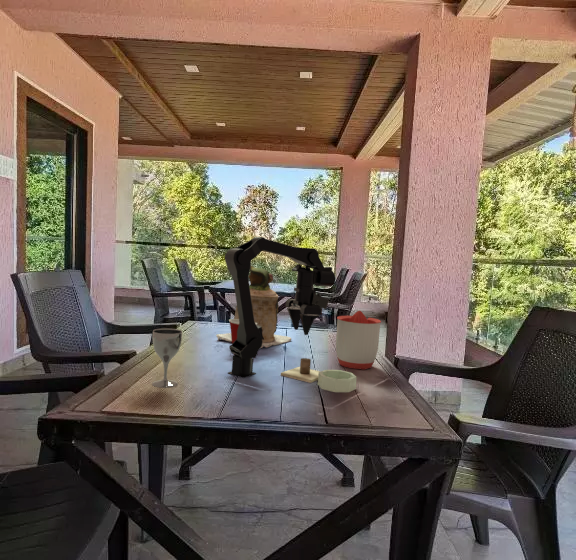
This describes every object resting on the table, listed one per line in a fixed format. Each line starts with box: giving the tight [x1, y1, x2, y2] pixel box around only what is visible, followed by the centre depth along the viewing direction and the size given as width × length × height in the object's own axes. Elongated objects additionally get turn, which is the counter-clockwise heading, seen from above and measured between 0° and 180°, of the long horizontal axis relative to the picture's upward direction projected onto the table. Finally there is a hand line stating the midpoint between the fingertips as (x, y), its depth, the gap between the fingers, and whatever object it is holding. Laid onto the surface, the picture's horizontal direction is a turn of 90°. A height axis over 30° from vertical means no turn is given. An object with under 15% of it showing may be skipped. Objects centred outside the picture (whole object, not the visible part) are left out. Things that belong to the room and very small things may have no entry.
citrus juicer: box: [335, 310, 382, 371], centre depth 166 cm, size 16×17×20 cm
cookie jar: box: [215, 265, 292, 349], centre depth 197 cm, size 25×25×32 cm
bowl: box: [317, 369, 358, 393], centre depth 137 cm, size 10×10×4 cm
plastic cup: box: [228, 318, 257, 344], centre depth 175 cm, size 11×11×12 cm
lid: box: [280, 357, 321, 384], centre depth 147 cm, size 11×11×5 cm
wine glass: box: [151, 328, 183, 389], centre depth 130 cm, size 8×8×15 cm
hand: (301, 332), depth 154 cm, fingers open, 9 cm apart
